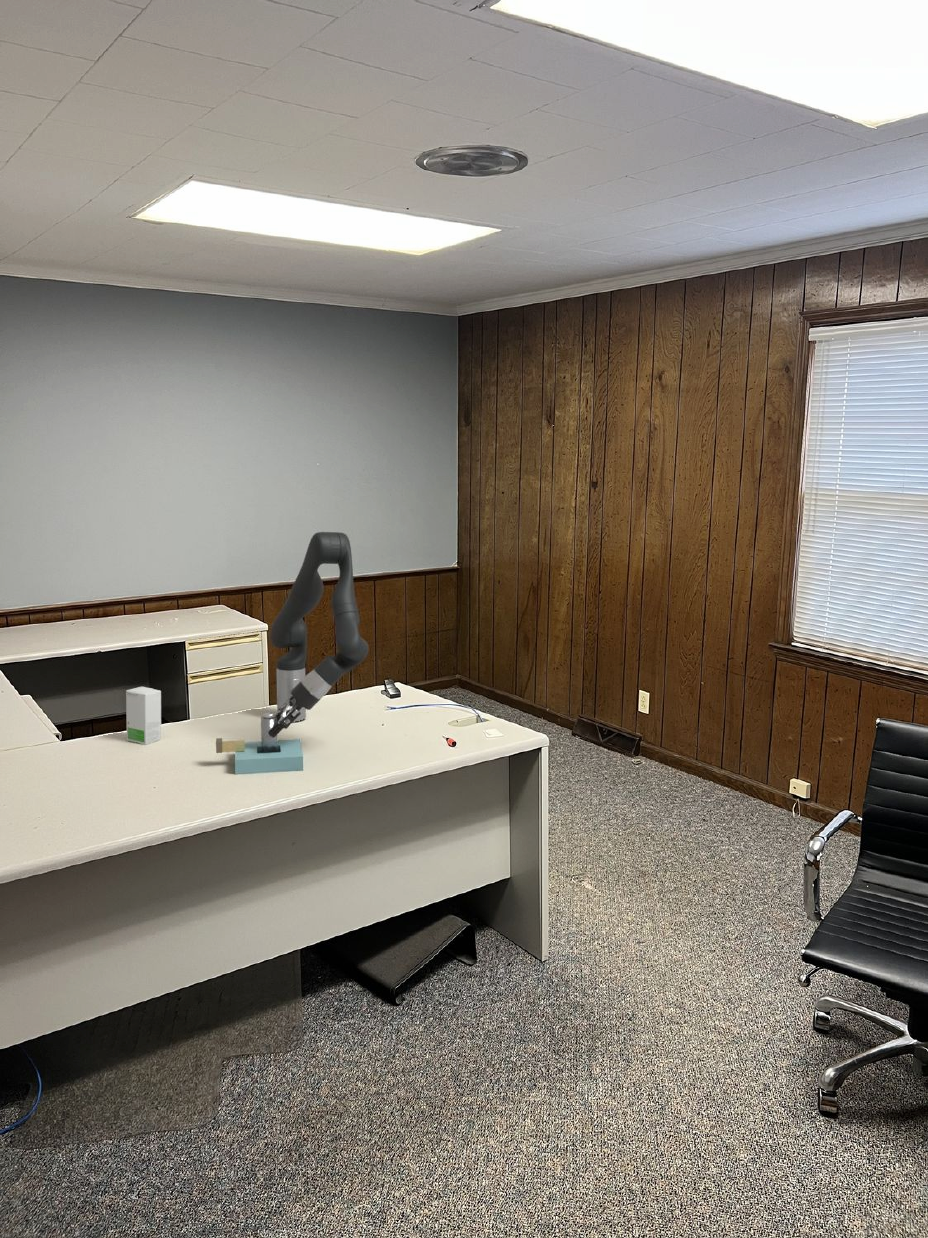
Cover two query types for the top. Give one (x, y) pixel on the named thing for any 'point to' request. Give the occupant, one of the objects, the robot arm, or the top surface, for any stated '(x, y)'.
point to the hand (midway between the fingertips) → (270, 730)
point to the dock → (269, 758)
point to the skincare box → (143, 715)
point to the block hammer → (229, 746)
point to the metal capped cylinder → (266, 740)
